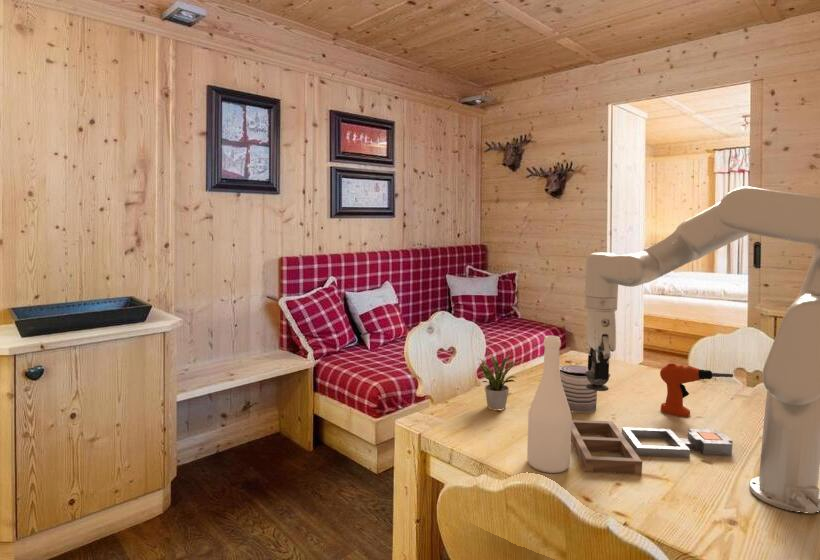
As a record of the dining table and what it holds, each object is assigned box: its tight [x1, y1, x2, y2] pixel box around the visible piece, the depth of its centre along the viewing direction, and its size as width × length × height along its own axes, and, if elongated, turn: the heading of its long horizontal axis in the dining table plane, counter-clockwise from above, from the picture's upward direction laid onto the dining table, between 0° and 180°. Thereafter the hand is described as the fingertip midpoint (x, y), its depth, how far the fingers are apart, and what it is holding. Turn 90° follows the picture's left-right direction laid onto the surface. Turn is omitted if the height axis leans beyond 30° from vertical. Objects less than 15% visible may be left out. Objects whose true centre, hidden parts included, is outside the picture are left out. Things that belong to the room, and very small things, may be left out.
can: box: [559, 364, 598, 414], centre depth 154 cm, size 11×11×12 cm
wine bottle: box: [526, 335, 573, 474], centre depth 117 cm, size 10×10×30 cm
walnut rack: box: [571, 419, 643, 475], centre depth 125 cm, size 22×12×3 cm, turn 174°
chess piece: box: [586, 348, 611, 392], centre depth 128 cm, size 6×6×12 cm
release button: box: [698, 433, 722, 440], centre depth 127 cm, size 4×4×3 cm
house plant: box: [477, 354, 526, 409], centre depth 153 cm, size 14×14×16 cm
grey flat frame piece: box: [621, 426, 733, 459], centre depth 127 cm, size 12×23×3 cm, turn 84°
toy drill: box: [659, 362, 734, 418], centre depth 146 cm, size 5×19×15 cm, turn 56°
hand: (597, 373), depth 129 cm, fingers closed on chess piece, 5 cm apart
